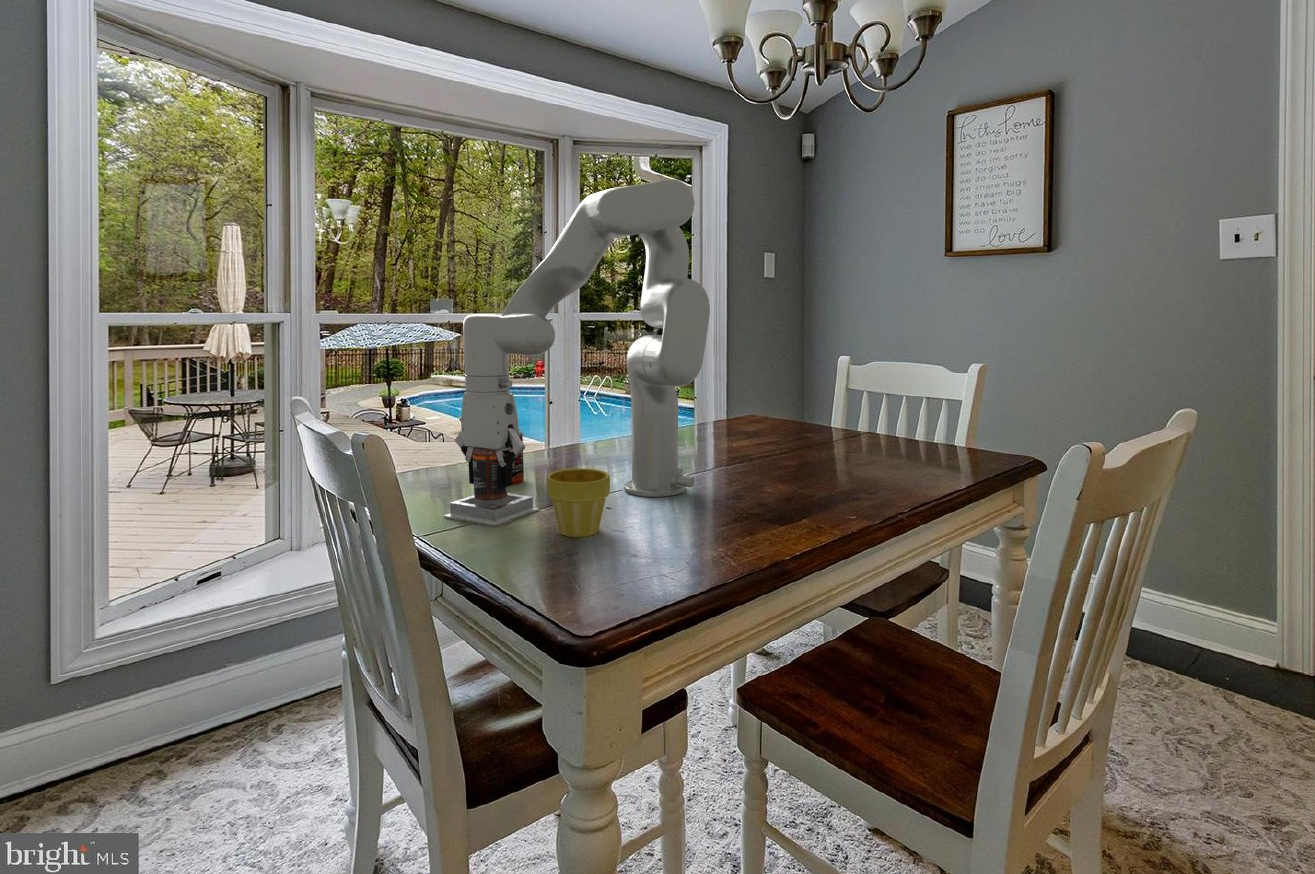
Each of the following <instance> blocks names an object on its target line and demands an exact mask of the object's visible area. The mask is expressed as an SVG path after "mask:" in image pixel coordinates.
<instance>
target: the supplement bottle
mask: <svg viewBox="0 0 1315 874" xmlns="http://www.w3.org/2000/svg"><path fill="white" fill-rule="evenodd" d="M503 453H504V456H506V455H505V451H504V452H503ZM497 466H500V464H499V461H498V458H497V455H496V452H495V450H490V449H486V448H475V449H474V450H473V478H474V484H473V491H474V492H473V495H474V496H475V498H477V499H479V500H485V501H491V500H499V499H502V498H505V497H506V496H507V493H508V487H505V488H502V489H501V488H498V484H497Z"/></svg>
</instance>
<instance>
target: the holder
mask: <svg viewBox="0 0 1315 874" xmlns="http://www.w3.org/2000/svg"><path fill="white" fill-rule="evenodd" d="M449 510H450V511H449V513H448V514H444V515H443V518H444V519H449V520H454V521H459V522H460V521H461V522H465V523H472V524H477V525H481V524H482V525H481V526H486V527H487V526H488V527H492V528H497V527H500V526H503V525H505V524H508V523H510V522H513V521H516V520H518V519H521V518H524V517H526V516H529V515H531V514H534V513H537V512H539V511H540V508H539V507H534V497H533V496H529V495H522V494H515V493H509V492H507V496H506V497H505V498H502V499H499V500H491V501H485V500H479V499H477V498H475V496H474V494H473V495H469V496H467V497H463V498H460V499H458V500H454V501H450V502H449Z"/></svg>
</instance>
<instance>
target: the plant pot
mask: <svg viewBox="0 0 1315 874" xmlns="http://www.w3.org/2000/svg"><path fill="white" fill-rule="evenodd" d="M610 476H611V475H610V474H609V472H607V471H605V470H600V469H596V468H594V469H593V468H584V467H583V468H581V467H580V468H577V467H576V468H566V469H559V470H556V471H555V470H554V471H553V472H551V473H548V475H547V476H546V487H547V488H546V490H547V491H546V492H547V496H548V497H549V498H550V499H551V502H552V507H553V509H554V513H555V519H556V522H557V523H556V524H557V528H558V532H559V534H561V535H562V536H565V537H569V538H584V537H585V538H586V537H591V536H593V535H596V534H597V533H598V532H599V531H600V526H601V521H602V516H603V511H604V508H605V502H606V498H607V497H608V496H609V495H610V492H611V491H610V489H611V477H610Z"/></svg>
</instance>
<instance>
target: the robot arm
mask: <svg viewBox="0 0 1315 874" xmlns="http://www.w3.org/2000/svg"><path fill="white" fill-rule="evenodd" d="M694 210H695V198H694V194H693V192H692V190H691V189H690V187H689V186H688V185H687V184H686V183H684V182H683V181H681V180H679V179H673V178H669V179H662V180H657V181H650V182H645V183H640V184H633V185H632V184H631V185H627V186H619V187H618V186H617V187H612V188H608V189H604V190H601V191H598V192H594V193H592V194H589V195H587V196H586V197H584V199H583V200H582V201H581V202H580V203H579V205H578V206H577V208H576V209H575V211H574V212H573V214H572V216H571V217H570V219H569V221H568V223H566V226H565V227H564V228H563V229H562V232H560V235H559V236H558V238H557V240H556V241H555V243H554V245H553V246H552V248H551V249H550V251H549V252H548V254H547V255H546V257H545V258H544V259H543V260H542V261H541V262H540V263H539V264H538V266H536V267H535V269H534V270H533V271H532V272H531V273H530V275H529V276H528V277H527V278H526V279H525V280H524V281H523V282H522V284H521V285H520V286H519V287H518V289H517V290H516V291H515V293H514V294H513V295H512V298H510V300H509V302H508V304H507V305H506V306H505V308H504V310H503V311H502V313H501V314H489V313H488V314H485V313H481V314H479V313H478V314H475V313H474V314H468V315H467V316H465V318H464V319H463V322H462V325H463V327H462V328H463V329H462V332H463V353H464V354H463V356H464V384H465V385H464V387H465V388H464V389H465V392H464V393H463V397H462V404H461V405H462V406H461V414H460V416H461V422H460V426H461V427H460V428H461V431H460V432H459V433H458V435H456V438H455V439H454V441H455V444H457V445H458V447H459V448H460V451H461V453H462V454H463V455H464V456H465V457H464V460H465V461H466V462H467V463H468V483H469V484H470V485H474V478H473V450H474V449H475V448H486V449H490V450H495V452H496V455H497V458H498V461H499V464H500V466H497V484H498V488H501V489H502V488H505V487H507V488H508V487H511V486H513V485H512V464H514V463H515V460H516V459H517V458H518V456H519V454H521V452H522V451H523V452H524V450H525V449H526V445H525V444H524V441H523V442H522V441H521V440H520V438H519V430H520V427H519V417H518V410H517V405H516V401H515V396H514V393H513V392H510V388H512V387H513V381H512V380H510V378H509V377H510V375H509V374H510V373H509V372H510V371H509V355H519V356H520V355H521V356H527V357H536V356H541V355H543V354H545V353H547V352H548V351H549V350H550V349H551V347H553V345H554V343H555V339H556V331H555V328H554V326H553V324H552V322H551V321H550V320H549V319H547V318H546V317H547V316H548V314H549V313H550V312H551V311H552V310H553V309H554V308H555V306H556V305H558V304H559V303H560V302H561V301H562V300H564V299H565V298H566V297H568V296H570V295H572V294H574V293H576V291H578V290H579V289H580V288H582V287H584V285H586V283H588V281H589V279H590V278H591V276H592V274H593V273H594V271H595V270H596V268H597V266H598V264H599V263H600V262H601V260H602V258H603V256H604V255H605V253H606V251H607V250H608V249H609V247H610V245H611V244H612V242H613V241H614V239H618V238H623V237H629V236H635V235H639V236H640V238H641V240H642V243H643V245H644V247H645V267H644V275H643V283H642V289H641V297H640V305H639V311H640V316H641V319H642V320H643V321H644V323H645V324H647V325H648V326H649V327H650V326H651V327H652V328H656V329H662V334H647V335H644V336H641V337H639V338H637V339H636V340H635V341H633V343H632V344H631V346H630V347H629V348H628V351H627V355H626V368H627V369H626V371H627V376H628V381H629V382H628V383H629V389H630V401H631V402H630V405H631V406H630V407H631V408H630V411H631V412H630V413H631V421H630V422H631V427H630V428H631V429H630V430H631V480H629V481H626V482H625V483H624V485H623V487H624V488H623V489H624V491H625V492H626V493H627V494H629V495H634V496H638V497H650V498H655V497H656V498H658V497H659V498H661V497H662V498H663V497H670V496H672V497H673V496H675V495H676V496H678V495H679V494H682V493H684V492H685V491H686V487H687V488H693V487H694V486H695V477H694V476H693V475H684V473H683V471H684V469H683V468H682V467H679V400H678V399H679V398H678V394H677V389H676V387H684V386H688V385H690V384H692V383H693V381H694V380H696V379H697V377H698V375H700V371H701V370H702V367H703V362H704V356H705V352H706V351H705V350H706V345H707V337H708V331H709V324H710V323H709V322H710V314H711V310H710V309H711V306H710V299H709V295H708V293H707V291H706V289H705V287H704V286H702V284H701V283H699V282H697V281H696V280H694V279H690V278H688V276H689V274H688V273H689V264H690V263H689V262H690V251H689V245H688V242H687V238H686V237H685V234H684V232H683V231H682V229H681V227H680V226H683V225H684V224H685V223H687V222H688V221H689V219H690V218H691V217H692V215H693V213H694ZM511 447H513V449H512V450H511ZM504 451H505V455H506V456H504V453H503V452H504Z"/></svg>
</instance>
